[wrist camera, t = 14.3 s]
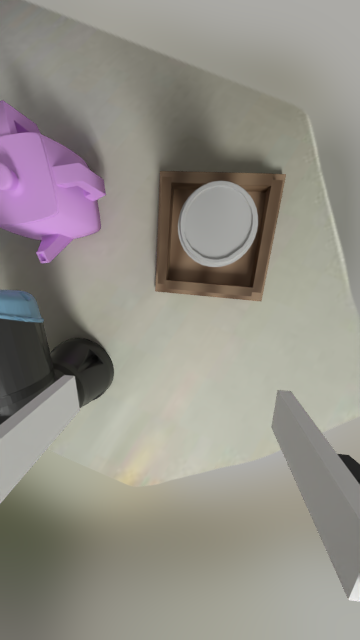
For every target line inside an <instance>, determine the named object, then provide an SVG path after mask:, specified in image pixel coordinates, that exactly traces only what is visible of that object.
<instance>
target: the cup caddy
mask: <svg viewBox="0 0 360 640" xmlns="http://www.w3.org/2000/svg"><path fill="white" fill-rule="evenodd" d="M285 177H286V174H265V173H224V172H184V171H160V190H159V214H158V239H157V264H156V288H155V291H158V292H169V293H179V294H190V295H200V296H211V297H221V298H232V299H243V300H253V301H261V300H262V295H263V290H264V285H265V279H266V274H267V269H268V264H269V259H270V254H271V249H272V244H273V239H274V233H275V228H276V223H277V218H278V213H279V208H280V203H281V198H282V192H283V187H284V182H285ZM214 181H229V182H232V183H234V184H237V185H239V186H240V187H242V188H243V189H245V190H246V191H247V193H248V194H249V195H250V196H251V198H252V199H253V201H254V203H255V206H256V209H257V214H258V227H257V233H256V236H255V239H254V241H253V243H252V245H251V246H250V248H249V249H248V251H247V252H246V253H245V254H244V255H243V256H242V257H241V258H239V259H238V260H237V261H235V262H233V263H231V264H229V265H226V266H222V267H208V266H204V265H201V264H199V263H197V262H195V261H194V260H193V259H192V258H191V257H189V256H188V254H187V253H186V252H185V251H184V249H183V247H182V245H181V242H180V239H179V235H178V220H179V215H180V212H181V209H182V207H183V205H184V203H185V202H186V200H187V199H188V197H189V196H190V195H191V194H192V193H193V192H194V191H195V190H196V189H198V188H199V187H201V186H203V185H205V184H207V183H210V182H214Z"/></svg>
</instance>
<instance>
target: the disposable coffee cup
mask: <svg viewBox="0 0 360 640" xmlns="http://www.w3.org/2000/svg"><path fill="white" fill-rule="evenodd" d="M257 227H258V214H257V209H256V206H255V203H254V201H253V199H252V198H251V196H250V195H249V194H248V193H247V191H246V190H245V189H243V188H242V187H240V186H239V185H237V184H234V183H232V182H229V181H214V182H210V183H207V184H205V185H203V186H201V187H199V188H198V189H196V190H195V191H194V192H193V193H192V194H191V195H190V196H189V197H188V199H187V200H186V202H185V203H184V205H183V207H182V209H181V212H180V215H179V220H178V235H179V239H180V242H181V245H182V247H183V249H184V251H185V252H186V253H187V254H188V256H189V257H191V258H192V259H193V260H194V261H195V262H197V263H199V264H201V265H204V266H208V267H222V266H226V265H229V264H231V263H233V262H235V261H237V260H238V259H239V258H241V257H242V256H243V255H244V254H245V253H246V252H247V251H248V249H249V248H250V246H251V245H252V243H253V241H254V239H255V236H256V233H257Z"/></svg>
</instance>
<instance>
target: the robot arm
mask: <svg viewBox="0 0 360 640" xmlns="http://www.w3.org/2000/svg"><path fill="white" fill-rule="evenodd" d="M43 322H44V319H43V318H41V315H40V312H39V308H38V305H37V302H36V299H35V298H34V297H33V296H32V295H31V294H29V293H27V292H25V291H19V290H0V503H1V502H2V501H3V500H4V499H5V497H6V496H7V495H8V494H9V493H10V491H11V490H12V489H13V488H14V487H15V486H16V484H17V483H18V482H19V481H20V480H21V479H22V477H23V476H24V475H25V474H26V473H27V472H28V470H29V469H30V468H31V467H32V466H33V464H34V463H35V462H36V461H37V460H38V459H39V458H40V456H41V455H42V454H43V453H44V452H45V450H46V449H47V448H48V447H49V446H50V445H51V443H52V442H53V441H54V440H55V439H56V438H57V436H58V435H59V434H60V433H61V432H62V431H63V429H64V428H65V427H66V426H67V425H68V424H69V422H70V421H71V420H72V419H73V418H74V417H75V415H76V414H77V413H78V412H79V411H80V408H81V407H82V406H84V405H86V404H88V403H89V402H91V401H92V400H95V399H97V398H98V397H100V396H101V395H102V394H104V392H105V391H106V390H107V389H108V388H109V386H110V385H111V383H112V381H113V376H114V369H113V365H112V362H111V360H110V358H109V356H108V355H107V353H106V352H105V351H104V350H103V349H102V348H101V347H100V346H99V345H97V344H96V343H94V342H92V341H89V340H86V339H81V338H74V339H70V340H67V341H65V342H63V343H61V344H59V345H58V346H56V347H55V348H54V349H53V350H52V351H51V353H50V351H49V347H48V343H47V338H46V334H45V330H44V326H43ZM272 430H273V432H274V434H275V436H276V439H277V441H278V443H279V445H280V448H281V450H282V452H283V454H284V457H285V459H286V461H287V463H288V465H289V467H290V470H291V472H292V474H293V477H294V479H295V481H296V483H297V486H298V488H299V490H300V492H301V495H302V497H303V499H304V501H305V504H306V506H307V508H308V510H309V513H310V515H311V517H312V519H313V521H314V524H315V526H316V528H317V531H318V533H319V535H320V537H321V540H322V542H323V544H324V546H325V548H326V551H327V553H328V555H329V557H330V560H331V562H332V564H333V566H334V568H335V571H336V573H337V575H338V578H339V580H340V582H341V584H342V587H343V589H344V591H345V593H346V596H347V598H348V600H353V601H359V602H360V464H359V463H357V462H356V461H355V460H354V459H353V458H351V457H350V456H349V455H342V454H337V453H336V452H335V450H334V449H333V448H332V446H331V445H330V444H329V442H328V441H327V440H326V438H325V437H324V436H323V434H322V433H321V431H320V430H319V429H318V427H317V426H316V425H315V423H314V422H313V420H312V419H311V418H310V416H309V415H308V414H307V412H306V411H305V410H304V408H303V407H302V406H301V404H300V403H299V401H298V400H297V399H296V397H295V396H294V395H293V393H292V392H291V391H282V390H278V391H277V397H276V403H275V409H274V415H273V421H272Z"/></svg>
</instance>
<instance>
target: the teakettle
mask: <svg viewBox="0 0 360 640" xmlns="http://www.w3.org/2000/svg"><path fill="white" fill-rule="evenodd" d="M104 195H106V193H105V186H104V180H103V179H102V178H101V177H99V176H98V175H96V174H95V173H94V172H92V171H91V170H90V169H89V167H88V166H87V164H86V162H85V161H84V160H83V159H82V158H81V157H80V156H78V155H77V154H76V153H74V152H73V151H71V150H70V149H68V148H67V147H65V146H63V145H62V144H60V143H58V142H56V141H54V140H52V139H50V138H48V137H46V136H44V135H42V134H41V133H40V131H39V129H38V127H37V125H36V124H35V123H34V122H32V121H31V120H30V119H28V118H27V117H25V116H24V115H23V114H21V113H20V112H18V111H17V110H16V109H14V108H13V107H12V106H10V105H9V104H7V103H6V102H5V101H3V100H2V101H0V228H2V229H5V230H7V231H10V232H12V233H15V234H17V235H21V236H24V237H27V238H32V239H36V240H41V243H40V246H39V249H38V251H37V252H36V254H37V256H38V258H39V260H40V262H41V264H42V263H49V262H51V261H52V260H53V259H54V258H55V257H56V256H57V255H58V254H59V253H60V252H61V251H62V250H63V249H64V248H65V247H66V246H67V245H68V244H69V243H70V242H71V241H72V240H73V239H76V238H80V237H84V236H87V235H91V234H93V233H96V232H98V231H99V230H100V228H101V223H100V215H99V209H98V203H97V199H99V198H101V197H103V196H104Z"/></svg>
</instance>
